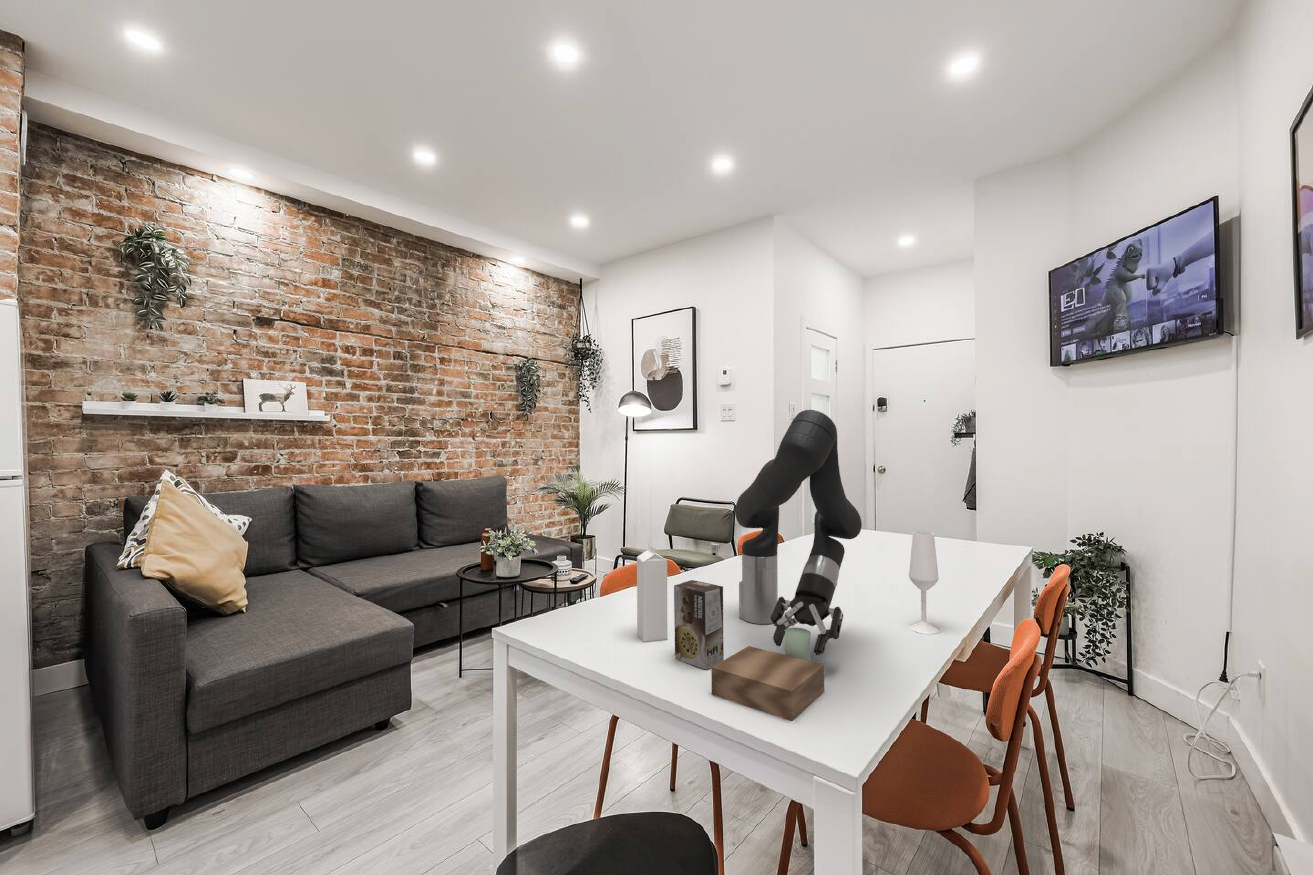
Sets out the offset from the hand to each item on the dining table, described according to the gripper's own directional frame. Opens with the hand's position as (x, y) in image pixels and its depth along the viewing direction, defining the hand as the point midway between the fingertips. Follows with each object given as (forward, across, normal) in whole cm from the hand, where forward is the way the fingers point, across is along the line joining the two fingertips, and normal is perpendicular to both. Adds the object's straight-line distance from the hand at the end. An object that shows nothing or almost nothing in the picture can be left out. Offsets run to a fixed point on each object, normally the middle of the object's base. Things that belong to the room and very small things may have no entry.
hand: (796, 649), depth 113 cm
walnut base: (+12, 0, -5) cm, 13 cm away
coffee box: (+8, -19, -1) cm, 21 cm away
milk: (+4, -36, +2) cm, 37 cm away
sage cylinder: (+3, 0, +4) cm, 5 cm away
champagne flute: (-28, +14, +35) cm, 47 cm away
